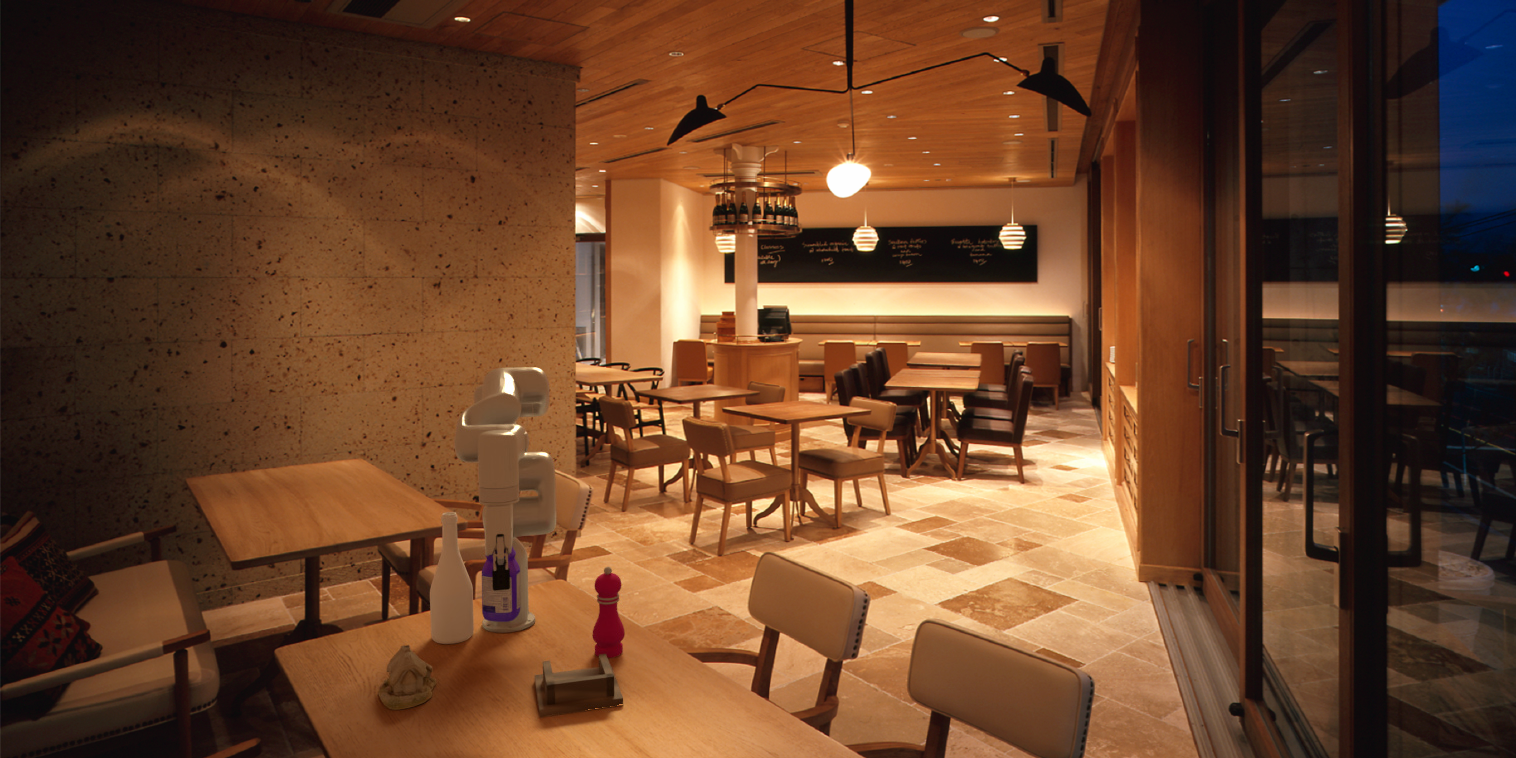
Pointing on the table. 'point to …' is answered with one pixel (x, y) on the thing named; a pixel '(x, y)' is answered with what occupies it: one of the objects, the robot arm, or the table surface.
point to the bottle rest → (577, 689)
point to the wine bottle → (451, 590)
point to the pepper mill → (608, 616)
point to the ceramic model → (406, 681)
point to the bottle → (501, 592)
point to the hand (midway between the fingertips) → (501, 582)
